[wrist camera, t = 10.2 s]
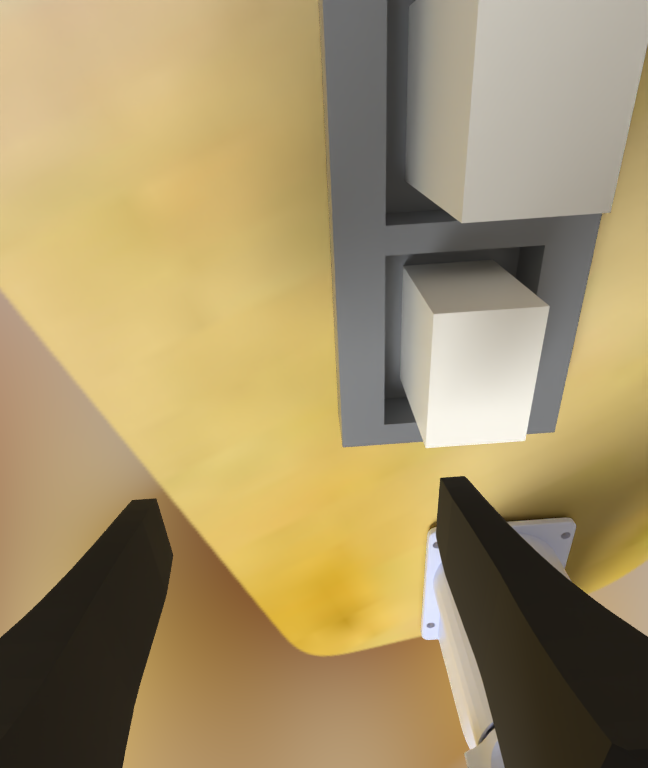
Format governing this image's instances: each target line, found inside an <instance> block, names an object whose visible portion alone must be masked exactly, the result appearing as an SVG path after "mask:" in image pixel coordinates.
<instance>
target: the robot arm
mask: <svg viewBox="0 0 648 768" xmlns="http://www.w3.org/2000/svg"><path fill="white" fill-rule="evenodd" d="M575 530H576V524H575V522H574V521H573V519H571V518H567V517H565V518H552V519H538V520H524V521H511V522H506V521H505V519H504V518H503V517H502V516H501V515H500V514H499V513H498V512H497V511H496V510H495V509H494V508H493V507H492V506H491V505H490V504H489V502H488V501H487V500H486V499H485V498H484V497H483V496H482V495H481V494H480V492H479V491H478V490H477V489H476V488H475V487H474V486H473V485H472V483H471V482H470V481H469V480H468V479H467V478H466V477H465V476H460V477H447V478H440V489H439V501H438V513H437V526H436V527H434V528H432V529H430V530H429V531H428V534H427V548H426V562H425V577H424V591H423V605H422V620H421V634H422V637H423V638H424V639H427V640H433V639H439V642H440V646H441V650H442V653H443V658H444V662H445V665H446V669H447V673H448V677H449V681H450V684H451V688H452V692H453V696H454V700H455V704H456V708H457V711H458V715H459V719H460V723H461V727H462V730H463V733H464V736H465V739H466V742H467V744H468V746H469V748H470V750H469V751H466V752H465V754H464V755H465V759H466V763H467V767H468V768H648V637H647V636H646V635H644V634H643V633H641V632H640V631H638V630H637V629H635V628H634V627H632V626H631V625H630V624H628V623H627V622H625V621H624V620H622V619H621V618H619V617H618V616H616V615H615V614H613V613H612V612H610V611H609V610H608V609H606V608H605V607H604V606H602V605H601V604H599V603H598V602H597V601H595V600H594V599H593V598H591V597H590V596H589V595H588V594H586V593H585V592H584V591H583V590H581V589H580V588H579V587H577V586H576V585H575V584H574V583H572V581H571V580H570V578H569V576H568V574H567V573H566V571H565V566H566V563H567V559H568V556H569V552H570V548H571V545H572V541H573V537H574V534H575ZM435 542H437V543H435ZM172 559H173V553H172V550H171V546H170V543H169V539H168V537H167V533H166V530H165V526H164V523H163V519H162V516H161V513H160V509H159V506H158V503H157V500H156V499H143V500H132V501H131V502H130V503H129V504H128V505H127V507H126V508H125V509H124V510H123V511H122V512H121V514H119V516H118V517H117V518H116V519H115V520H114V522H113V523H112V524H111V525H110V526H109V527H108V529H107V530H106V531H105V532H104V533H103V534H102V536H100V538H99V539H98V540H97V541H96V542H95V544H94V545H93V546H92V547H91V548H90V549H89V550H88V551H87V552H86V553H85V555H84V556H83V557H82V558H81V559H80V560H79V561H78V562H77V563H76V565H75V566H74V567H73V568H72V569H71V570H70V571H69V572H68V573H67V574H66V575H65V577H63V578H62V579H61V580H60V581H59V583H58V584H57V585H56V586H55V587H54V588H53V589H52V590H51V591H50V592H49V593H48V594H47V595H46V596H45V597H44V598H43V599H42V600H41V601H40V602H39V603H38V604H37V605H36V606H35V607H34V608H33V609H32V610H31V611H30V612H28V613H27V614H26V616H24V617H23V618H22V619H21V620H20V621H19V622H18V623H17V624H15V625H14V626H13V627H12V628H11V629H10V630H9V631H7V633H5V634H4V635H3V636H2V637H1V638H0V768H122V766H123V761H124V756H125V750H126V745H127V740H128V735H129V730H130V725H131V720H132V715H133V709H134V705H135V702H136V698H137V694H138V689H139V686H140V682H141V679H142V676H143V672H144V669H145V666H146V663H147V659H148V656H149V652H150V649H151V645H152V643H153V639H154V636H155V633H156V629H157V626H158V622H159V619H160V615H161V612H162V609H163V605H164V602H165V598H166V594H167V589H168V584H169V578H170V572H171V566H172Z"/></svg>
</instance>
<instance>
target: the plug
mask: <svg viewBox="0 0 648 768" xmlns="http://www.w3.org/2000/svg"><path fill="white" fill-rule="evenodd" d="M647 45H648V0H416V1H414V2H413V3H412V4H411V5H410V6H409V35H408V82H407V129H406V176H405V181H406V182H407V183H409V184H410V185H411V186H413V187H414V188H415V189H417V190H418V191H419V192H421V193H422V194H423V195H425V196H426V197H427V198H429V199H430V200H431V201H433V202H434V203H435V204H437V205H438V206H439V207H441V208H442V209H443V210H445V211H446V212H447V213H449V214H450V215H451V216H453V217H454V218H455V219H457V220H458V221H459V222H461V223H472V222H486V221H500V220H514V219H528V218H542V217H556V216H571V215H585V214H599V213H611V208H612V204H613V199H614V195H615V190H616V186H617V181H618V176H619V172H620V167H621V163H622V158H623V154H624V149H625V145H626V140H627V136H628V131H629V127H630V122H631V118H632V113H633V109H634V104H635V100H636V95H637V91H638V86H639V82H640V77H641V73H642V68H643V63H644V59H645V54H646V50H647Z"/></svg>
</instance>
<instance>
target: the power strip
mask: <svg viewBox="0 0 648 768" xmlns="http://www.w3.org/2000/svg"><path fill="white" fill-rule="evenodd" d="M414 1H416V0H319V19H320V40H321V61H322V81H323V102H324V123H325V144H326V164H327V185H328V206H329V227H330V248H331V268H332V289H333V310H334V331H335V351H336V372H337V393H338V414H339V422H340V430H341V438H342V446H343V447H354V446H368V445H382V444H396V443H410V442H424V445H425V447H426V448H432V447H446V446H460V445H474V444H488V443H502V442H516V441H525V439H526V434H536V433H550V432H555V427H556V423H557V418H558V413H559V409H560V404H561V400H562V395H563V390H564V386H565V381H566V377H567V372H568V367H569V363H570V358H571V354H572V349H573V344H574V340H575V335H576V331H577V326H578V321H579V317H580V312H581V308H582V303H583V298H584V294H585V289H586V285H587V280H588V275H589V271H590V266H591V262H592V257H593V252H594V248H595V243H596V239H597V234H598V229H599V225H600V220H601V216H602V213H599V214H585V215H571V216H556V217H542V218H528V219H514V220H500V221H486V222H472V223H461V222H459V221H458V220H457V219H455V218H454V217H453V216H451V215H450V214H449V213H447V212H446V211H445V210H443V209H442V208H441V207H439V206H438V205H437V204H435V203H434V202H433V201H431V200H430V199H429V198H427V197H426V196H425V195H423V194H422V193H421V192H419V191H418V190H417V189H415V188H414V187H413V186H411V185H410V184H409V183H407V182H406V181H405V176H406V129H407V82H408V35H409V6H410V5H411V4H412V3H413V2H414Z"/></svg>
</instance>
